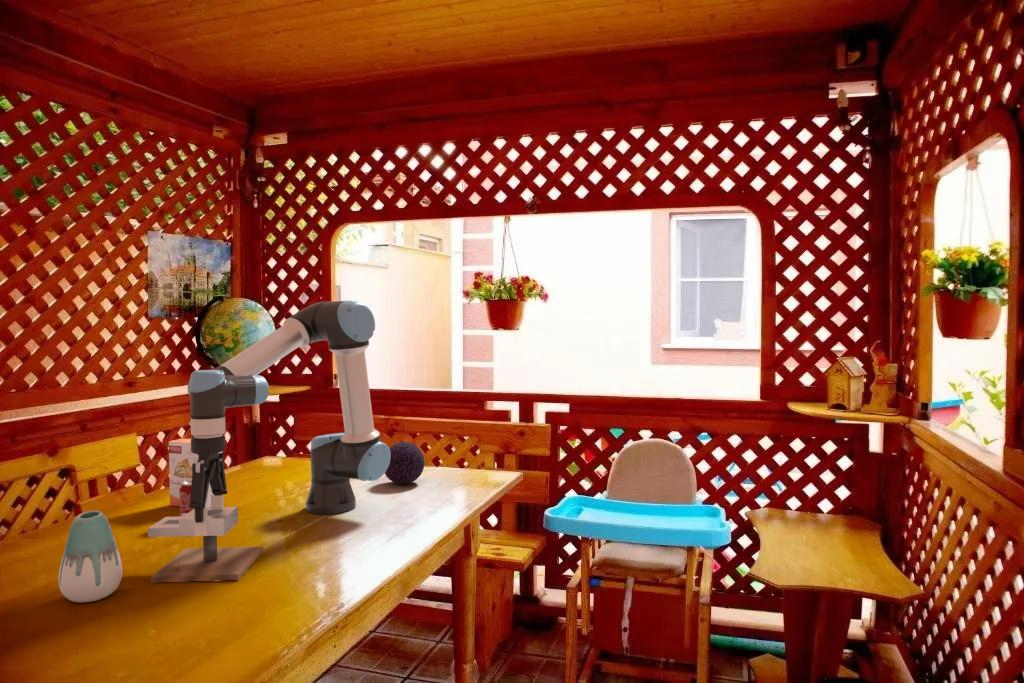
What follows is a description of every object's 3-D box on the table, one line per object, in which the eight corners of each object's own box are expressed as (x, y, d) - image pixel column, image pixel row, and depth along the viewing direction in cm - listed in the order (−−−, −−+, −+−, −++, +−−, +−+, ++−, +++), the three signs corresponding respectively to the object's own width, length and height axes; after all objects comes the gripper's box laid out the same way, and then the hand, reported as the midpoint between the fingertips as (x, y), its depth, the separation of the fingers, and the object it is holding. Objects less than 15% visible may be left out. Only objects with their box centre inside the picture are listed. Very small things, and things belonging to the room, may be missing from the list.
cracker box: (168, 506, 218) (167, 440, 217) (183, 501, 224) (182, 437, 223) (203, 510, 213) (202, 443, 213) (218, 505, 219) (216, 440, 218)
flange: (238, 523, 169) (237, 506, 169) (224, 535, 159) (223, 518, 159) (166, 524, 168) (166, 508, 168) (147, 537, 158) (147, 520, 158)
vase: (76, 612, 139) (74, 524, 139) (48, 600, 145) (46, 516, 145) (133, 593, 149) (132, 510, 148) (105, 582, 155) (103, 503, 155)
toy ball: (374, 486, 243) (373, 444, 242) (396, 477, 257) (395, 437, 256) (411, 490, 237) (411, 447, 237) (432, 480, 251) (431, 439, 251)
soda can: (195, 527, 196) (194, 485, 196) (174, 526, 197) (174, 484, 197) (210, 520, 203) (209, 480, 202) (190, 519, 204) (189, 479, 204)
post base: (262, 552, 175) (262, 523, 174) (238, 580, 156) (238, 547, 155) (185, 554, 173) (184, 524, 173) (151, 583, 154) (150, 550, 154)
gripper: (209, 428, 174) (210, 515, 175) (171, 444, 152) (173, 544, 153) (239, 427, 175) (240, 514, 176) (206, 443, 152) (208, 543, 153)
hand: (209, 528), depth 164 cm, fingers closed on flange, 10 cm apart
